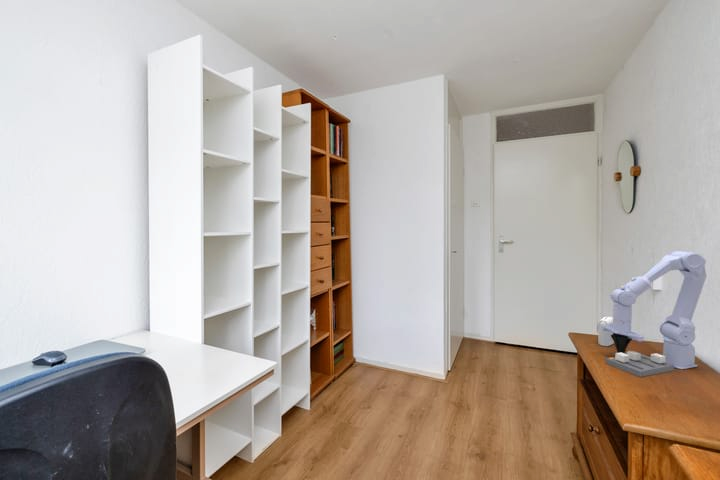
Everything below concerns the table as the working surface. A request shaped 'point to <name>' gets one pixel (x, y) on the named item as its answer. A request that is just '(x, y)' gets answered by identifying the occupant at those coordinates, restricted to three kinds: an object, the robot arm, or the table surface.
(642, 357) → the switch panel
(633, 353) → the switch middle
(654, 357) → the switch
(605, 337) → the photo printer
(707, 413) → the table surface
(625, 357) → the switch
